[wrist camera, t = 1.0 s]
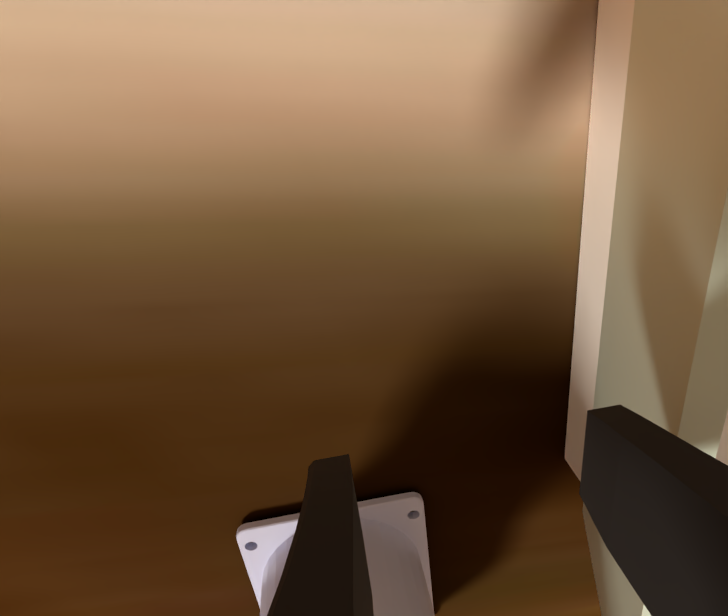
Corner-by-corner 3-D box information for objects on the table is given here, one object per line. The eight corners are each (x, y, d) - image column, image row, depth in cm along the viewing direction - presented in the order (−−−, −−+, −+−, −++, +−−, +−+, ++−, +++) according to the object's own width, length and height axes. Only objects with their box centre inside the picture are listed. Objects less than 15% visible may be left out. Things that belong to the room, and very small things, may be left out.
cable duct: (714, 429, 23) (770, 479, 20) (564, 458, 23) (601, 512, 20) (852, -141, 14) (984, -187, 11) (606, -111, 14) (685, -153, 11)
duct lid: (649, 723, 14) (620, 718, 14) (602, 513, 20) (582, 511, 20) (926, -382, 5) (836, -357, 5) (686, -154, 11) (649, -146, 11)
